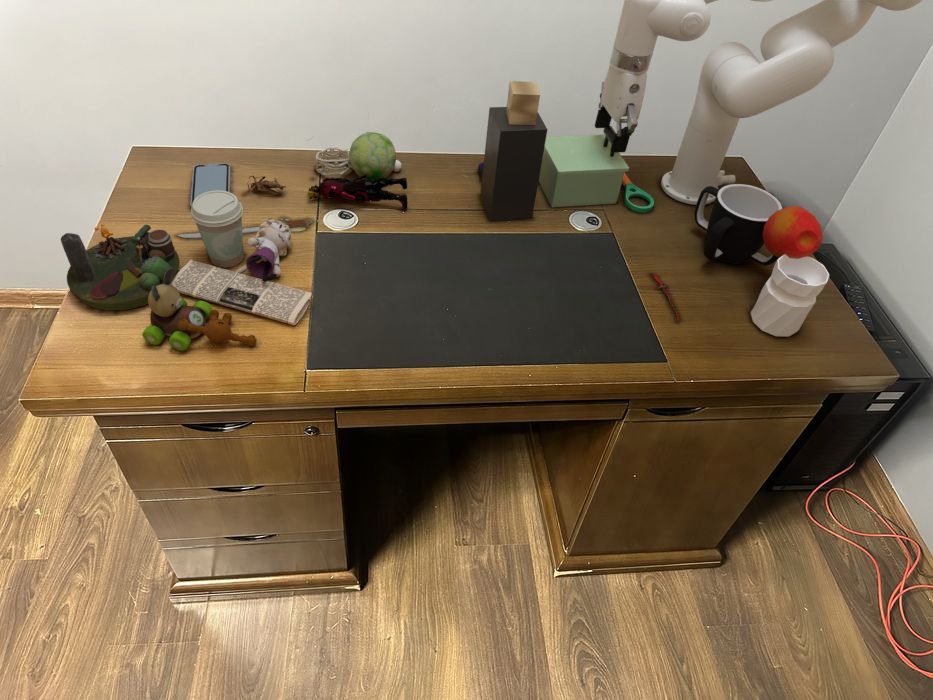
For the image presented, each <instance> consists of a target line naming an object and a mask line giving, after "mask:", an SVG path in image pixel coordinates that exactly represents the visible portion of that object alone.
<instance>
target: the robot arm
mask: <svg viewBox="0 0 933 700" xmlns="http://www.w3.org/2000/svg"><path fill="white" fill-rule="evenodd" d="M716 1H718V0H624V1H623V6H622V8H621V14H620V17H619V22H618V26H617V30H616V34H615V38H614V42H613V47H612V50H611V53H610V54H611V55H610V59H609V66H608V69H607V71H606V75H605V79H604V81H602V82H601V91H600V94H599V99H600V102H598V109H597V114H596V118H595V123H594V128H595V129H604V128H605V127H606V126H611V122H612V120H613V121H614V122H615V123H616V133H615V134H614V138H613V142H612V145H611V149H610V151H611V152H612V153H617V152H619V153H625V152H626V151H627V149H628V144H629V141H630V137H631V136H632V135H633V133H634V132H635V130H636V128H637V127H638V126H639V122H638V120H639V118H640V115H641V110H642V106H643V102H644V97H645V92H646V87H647V81H648V80H647V79H648V73H647V72H648V71H649V68H650V66H651V62H652V57H653V54H654V51H655V47H656V44H657V40H658V36H660V37H663V38H667V39H669V40H670V39H671V40H675V41H678V42H692V41H696V40H698V39H699V38H701V37H702V36H704V34H705V33H706V32H707V31H708V29H709V26H710V24H711V17H712V15H711V11H710V8H709V6H708V4H710V3H713V2H716ZM751 1H752V2H759V3H760V2H762V3H764V2H766V3H767V2H772V1H773V0H750V2H751ZM921 2H923V0H821V1H820V2H818V3H816V4H814V5H812V6H810V7H807V8H806V9H804V10H802V11H800V12H797V13H796V14H794V15H792V16H790V17H788V18H785V19H783V20H781V21H780V22H778V23H776V24H775V25H773V26H772V27H770V28H769V29H768V30H766V32H765V33H764V34H763V36H762V37H761V41H760V46H759V48H760V53H761V56H762V57H763V60H764V61H763V62H760V60H759V59H758V58H757V56H756V55H755V54H754V53H753V51H751V49H749V47H747V46H746V45H744V44H743V43H741V42H738V41H727V42H723V43H721V44H719V45H717V46H716V47H715V48H713V49H712V50H711V51H710V52H709V54H708V55H707V56H706V58H705V60H704V62H703V64H702V66H701V70H700V76H699V80H698V86H697V90H696V96H695V99H694V103H693V107H692V110H691V113H690V116H689V119H688V122H687V124H686V127H685V131H684V134H683V137H682V140H681V143H680V146H679V149H678V152H677V155H676V158H675V161H674V164H673V168H672V170H670V171H667V172H666V173H665V174H663V175H662V176H661V177H662V178H661V181H660V186H661V189H662V190H663V192H664V193H665V194H666V195H667V196H669V197H670V198H672V199H673V200H675V201H678V202H680V203H684V204H688V205H694V206H696V204H697V201H698V198H699V196H700V193H701V191H702V190H703V189H704V188H705V187H708V186H712V187H715V188H717V189H719V187H720V186H722V185H732V184H736V175H735V174H726V171H725V170H723V169H721V168H722V166H723V162H724V160H725V158H726V156H727V152H728V150H729V148H730V144H731V142H732V140H733V137H734V135H735V132H736V130H737V127H738V125H739V122H740V119H746V118H747V119H748V118H752V117H755V116H757V115H759V114H762V113H764V112H767V111H769V110H771V109H773V108H776V107H777V106H779V105H781V104H784V103H787V102H788V101H791V100H792V99H795V98H797V97H799V96H801V95H804V94H806V93H807V92H810V91H811V90H813V89H814V88H816V87H817V86H818V85H819V84H820V83H822V82H823V81H824V80H825V79H826V77H827V76H828V75H829V73H830V72H831V70H832V67H833V66H834V62H835V53H834V52H835V51H834V49H833V48H834V47H836V46H839V45H840V44H842V43H845V42H846V41H848V40H850V39H851V38H853V37H854V36H856V35H857V34H858V33H859V32H860V31H861V30H862V29H863V28H864V27H865V25H866V24H867V23H868V22H869V20H870V19H871V18H872V16H873V14H874V12H875V11H876V9H877V7H880V8H883V9H885V10H889V11H895V12H896V11H897V12H900V11H905V10H908V9H911V8H914V7H915V6H917V5H919V4H920V3H921ZM624 117H625V118H624ZM626 117H627V118H626ZM623 124H626V126H624V127H622V125H623ZM715 198H716V197H715V196H713V195H711V194H709V196H708V199H707V201H706V204H705V205H708V204H711V203H714V201H715Z"/></svg>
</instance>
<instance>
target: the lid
mask: <svg viewBox="0 0 933 700" xmlns="http://www.w3.org/2000/svg"><path fill="white" fill-rule="evenodd" d="M615 133H617V131H616V130H615V129H614V128H613V126H612V125H610V126H606V127H605V128H603V134H585V135H583V134H582V135H561V136H560V135H559V136H546V141H545V147H544V150H545V152H546V153H547V155H548V157H549V159H550V161H551V163H552V165H553V167H554V168H555V170H556V172H557V174H558V175H566V174H586V173H605V172H629V171H630V167H629V166H628V163H627V162H626V160H625V159H624V158H623V156H622V154H621V152H617V153H612V152H611V151H610V149H611V145H612V142H613V138H614V134H615Z"/></svg>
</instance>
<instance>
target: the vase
mask: <svg viewBox="0 0 933 700" xmlns="http://www.w3.org/2000/svg"><path fill="white" fill-rule="evenodd" d="M829 278H830V272H828V270H827V267H825V265H824V264H823V263H821V262H819V261H818V260H816V259H815V258H813V257H812V256H807V257H803V258H800V259H793V258H789V257H788V256H787V255H786V254H784V255H783V256H781V257H780V258H779V259H777V261H776V262H774V266H773V268H772V272H771V275H770V277H769V278H768V280H767V281H766V282H765V284H764V285H763V287H762V289H761V290H760V293H759V294H758V297H757V301H756V303H755V304H754V306H753V308H752V309H751V310H750V316H751V321H752V323H753V324H754V325H756V326H757V328H759V329H760V331H762V332H764V333H766V334H769V335H772V336H774V337H786V338H787V337H791V336H792V335H794V334H796V333H797V332H798V331H800V329H801V327H802V325H803V324H804V322H805V320H806V318H807V317H808V315H809V314H810V312H811V310H812V309H813V307H814V305H815V304H816V302H817V297H818V296H819V294H820V293H821V292H822V291H823V290H824V288H825V286H826V285H827V283H828V281H829Z"/></svg>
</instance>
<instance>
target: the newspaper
mask: <svg viewBox="0 0 933 700" xmlns="http://www.w3.org/2000/svg"><path fill="white" fill-rule="evenodd" d="M170 285H173V286H174V287H176V288H177V289H178V291H179V293H180V294H182V295H186V296H189V297H193V298H196V299H199V300H202V301H205V302H210V303H214V304H217V305H221V306H225V307H228V308H232V309H235V310H239V311H242V312H246V313H248V314H253V315H257V316H260V317H262V318H263V317H264V318H266V319H270V320H275V321H278V322H282V323H285V324H288V325H291V326H295V325H296V324H298V323H299V321H300V320H301V319H302V317H303V316H304V314H305V313H306V312H307V309H308V307H309V305H310V302H311V300H310V299H311V296H312V294H313V292H310V291H306V290H303V289H298V288H295V287H292V286H288V285H284V284H280V283H277V282H273V281H271V280H269V281H267V282H264V281H263V280H262V278H260V277H256V276H251V275H248V274H244V273H242V274H241V273H237V272H235V271H234V270H230V269H226V268H223V267H218V266H216V265H212V264H208V263H203V262H200V261H196V260H193V259H189V260H188V262H187V263H186V264H185V265H184V266H183V267H182V268H181V269H180V270H178V273H177V274H176V275H175V277H174V278H173V279H172V281H171V283H170Z"/></svg>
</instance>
